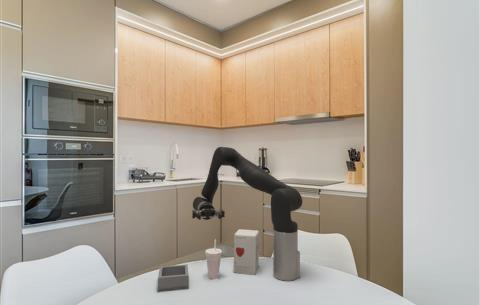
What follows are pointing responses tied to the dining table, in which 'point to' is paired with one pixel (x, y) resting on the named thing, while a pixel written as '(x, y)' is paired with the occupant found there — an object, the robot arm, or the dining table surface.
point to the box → (173, 278)
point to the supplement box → (246, 251)
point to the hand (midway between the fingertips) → (210, 217)
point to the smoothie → (213, 261)
